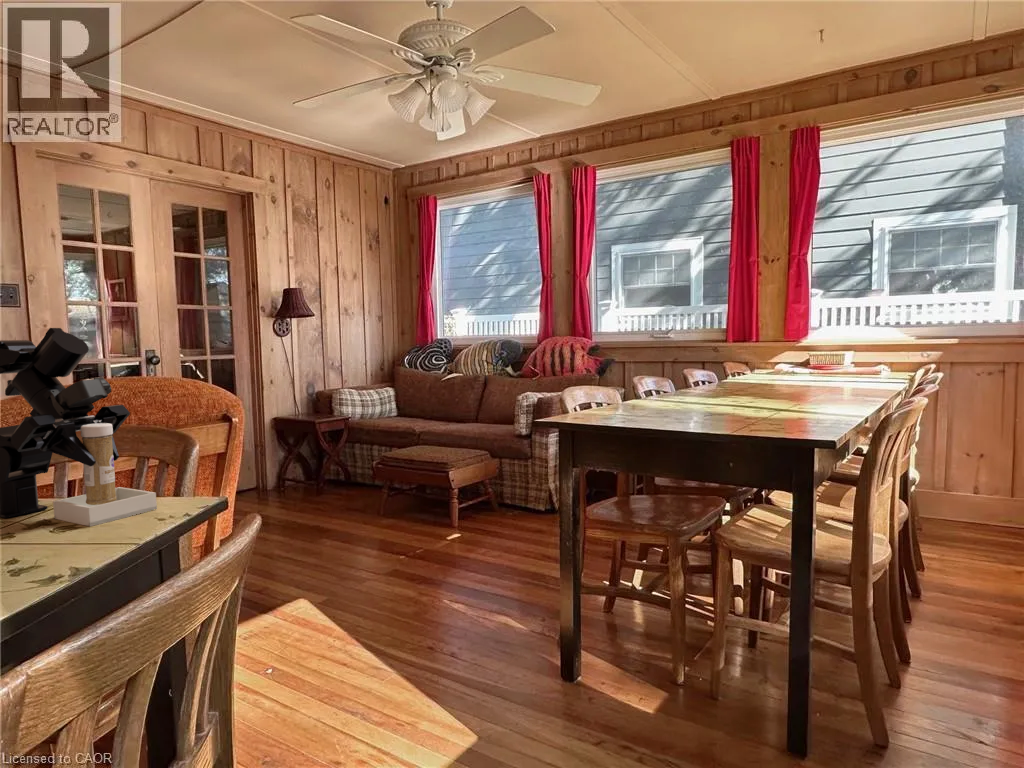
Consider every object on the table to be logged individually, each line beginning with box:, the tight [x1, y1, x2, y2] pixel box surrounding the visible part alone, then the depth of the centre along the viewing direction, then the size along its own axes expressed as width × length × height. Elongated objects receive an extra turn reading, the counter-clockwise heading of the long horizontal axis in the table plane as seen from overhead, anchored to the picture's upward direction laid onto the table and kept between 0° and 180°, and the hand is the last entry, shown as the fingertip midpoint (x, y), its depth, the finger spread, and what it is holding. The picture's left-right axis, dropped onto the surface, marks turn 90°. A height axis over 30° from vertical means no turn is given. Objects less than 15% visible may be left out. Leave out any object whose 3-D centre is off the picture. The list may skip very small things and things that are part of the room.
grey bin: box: [52, 486, 158, 527], centre depth 109 cm, size 11×11×3 cm
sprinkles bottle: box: [80, 423, 117, 505], centre depth 108 cm, size 5×5×13 cm
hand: (105, 461), depth 108 cm, fingers closed on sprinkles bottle, 4 cm apart
